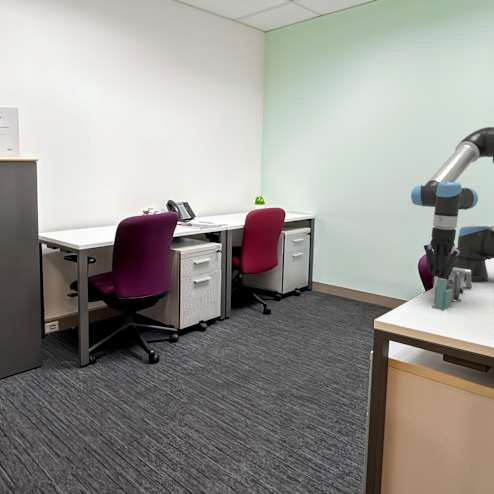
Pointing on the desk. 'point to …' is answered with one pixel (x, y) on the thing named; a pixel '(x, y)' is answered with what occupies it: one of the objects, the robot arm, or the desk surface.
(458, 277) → the hinge post
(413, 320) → the desk surface
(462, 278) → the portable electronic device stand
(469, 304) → the desk surface
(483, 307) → the desk surface
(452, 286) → the gate
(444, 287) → the stile
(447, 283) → the camera
